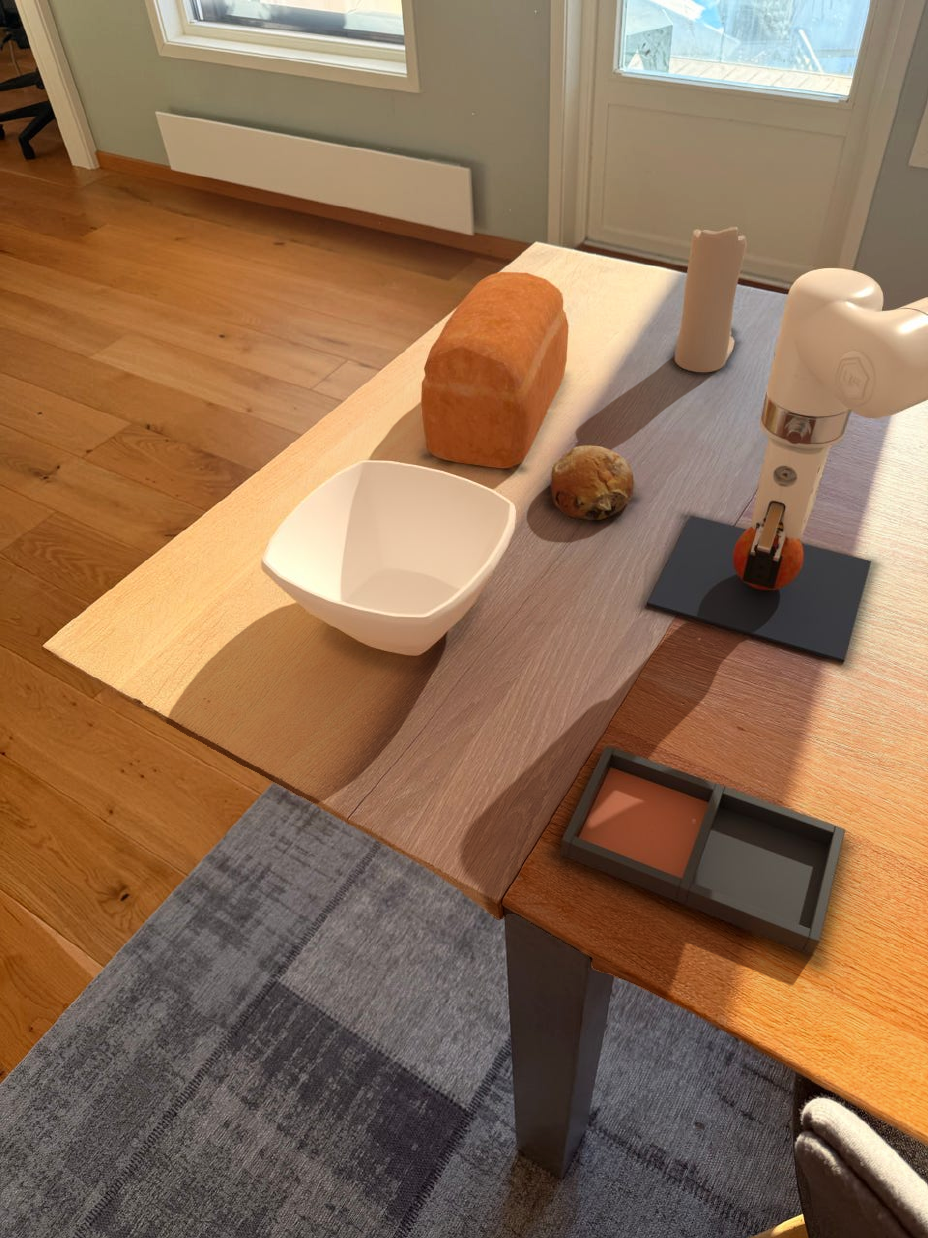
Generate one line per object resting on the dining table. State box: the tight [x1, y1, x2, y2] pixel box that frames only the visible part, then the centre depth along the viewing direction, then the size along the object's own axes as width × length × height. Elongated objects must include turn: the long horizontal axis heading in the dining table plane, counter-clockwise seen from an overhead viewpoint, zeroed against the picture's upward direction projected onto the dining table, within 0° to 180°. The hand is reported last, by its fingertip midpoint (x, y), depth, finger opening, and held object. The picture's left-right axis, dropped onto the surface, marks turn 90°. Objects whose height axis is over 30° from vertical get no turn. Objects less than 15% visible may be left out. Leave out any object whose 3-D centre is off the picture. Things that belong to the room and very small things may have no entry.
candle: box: [674, 226, 747, 373], centre depth 126 cm, size 7×14×20 cm, turn 154°
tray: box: [560, 744, 846, 957], centre depth 74 cm, size 20×11×2 cm, turn 64°
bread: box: [420, 271, 569, 469], centre depth 118 cm, size 14×26×16 cm, turn 162°
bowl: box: [260, 459, 517, 657], centre depth 92 cm, size 22×22×12 cm
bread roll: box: [550, 445, 635, 521], centre depth 108 cm, size 10×10×8 cm
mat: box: [646, 515, 872, 663], centre depth 97 cm, size 20×16×1 cm
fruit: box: [733, 522, 803, 590], centre depth 94 cm, size 7×7×8 cm
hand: (767, 559), depth 95 cm, fingers closed on fruit, 7 cm apart
